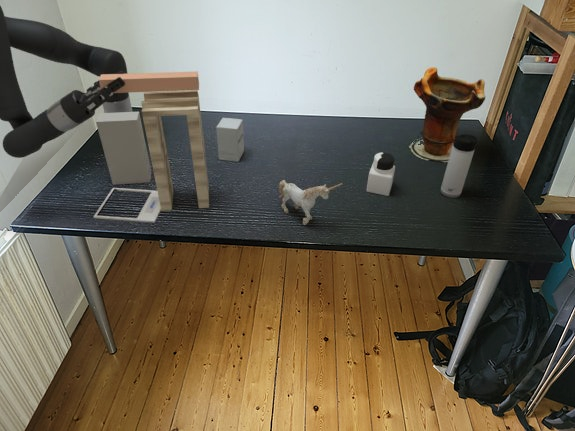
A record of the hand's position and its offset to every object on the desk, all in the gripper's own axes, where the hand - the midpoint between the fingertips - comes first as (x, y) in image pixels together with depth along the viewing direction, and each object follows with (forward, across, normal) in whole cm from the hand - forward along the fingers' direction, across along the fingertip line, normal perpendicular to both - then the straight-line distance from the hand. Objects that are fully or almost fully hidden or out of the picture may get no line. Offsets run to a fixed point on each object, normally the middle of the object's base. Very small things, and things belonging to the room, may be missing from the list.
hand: (123, 77), depth 115 cm
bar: (+4, 0, +6) cm, 7 cm away
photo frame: (-24, -1, +32) cm, 40 cm away
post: (-25, +13, +31) cm, 42 cm away
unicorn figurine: (+21, -11, +57) cm, 62 cm away
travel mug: (+62, -6, +80) cm, 102 cm away
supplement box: (+3, +24, +47) cm, 53 cm away
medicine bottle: (+43, -1, +70) cm, 82 cm away
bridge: (-10, 0, +39) cm, 40 cm away
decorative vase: (+66, +20, +83) cm, 108 cm away
